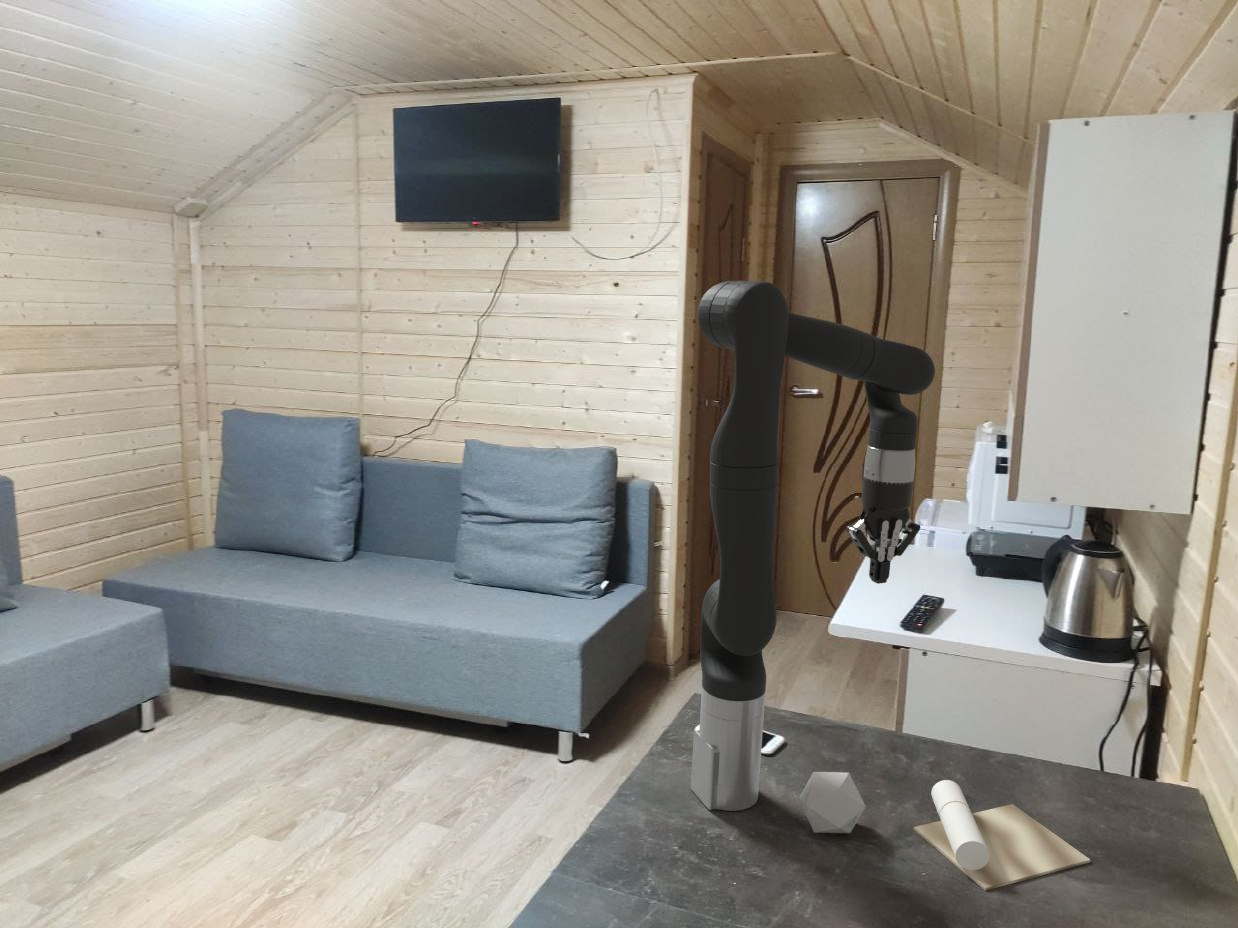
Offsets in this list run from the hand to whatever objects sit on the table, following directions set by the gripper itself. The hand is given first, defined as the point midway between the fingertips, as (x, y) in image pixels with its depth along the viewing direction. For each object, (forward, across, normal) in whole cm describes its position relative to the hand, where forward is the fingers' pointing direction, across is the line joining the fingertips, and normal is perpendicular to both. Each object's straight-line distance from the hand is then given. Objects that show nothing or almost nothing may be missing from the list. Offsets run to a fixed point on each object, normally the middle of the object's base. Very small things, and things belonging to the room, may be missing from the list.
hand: (878, 581), depth 148 cm
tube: (+26, +1, -19) cm, 32 cm away
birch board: (+29, +2, -28) cm, 41 cm away
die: (+29, -18, -17) cm, 38 cm away
